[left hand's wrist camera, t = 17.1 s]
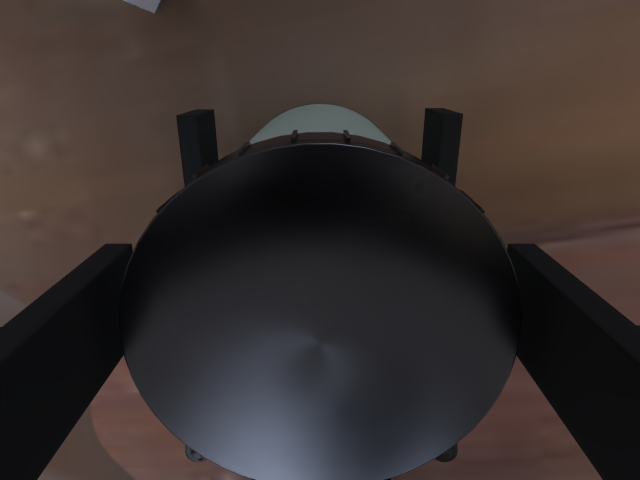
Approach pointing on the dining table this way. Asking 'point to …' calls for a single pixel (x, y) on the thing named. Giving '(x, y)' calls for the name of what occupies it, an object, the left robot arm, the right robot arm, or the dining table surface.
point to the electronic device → (145, 4)
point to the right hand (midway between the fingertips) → (319, 111)
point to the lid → (320, 311)
